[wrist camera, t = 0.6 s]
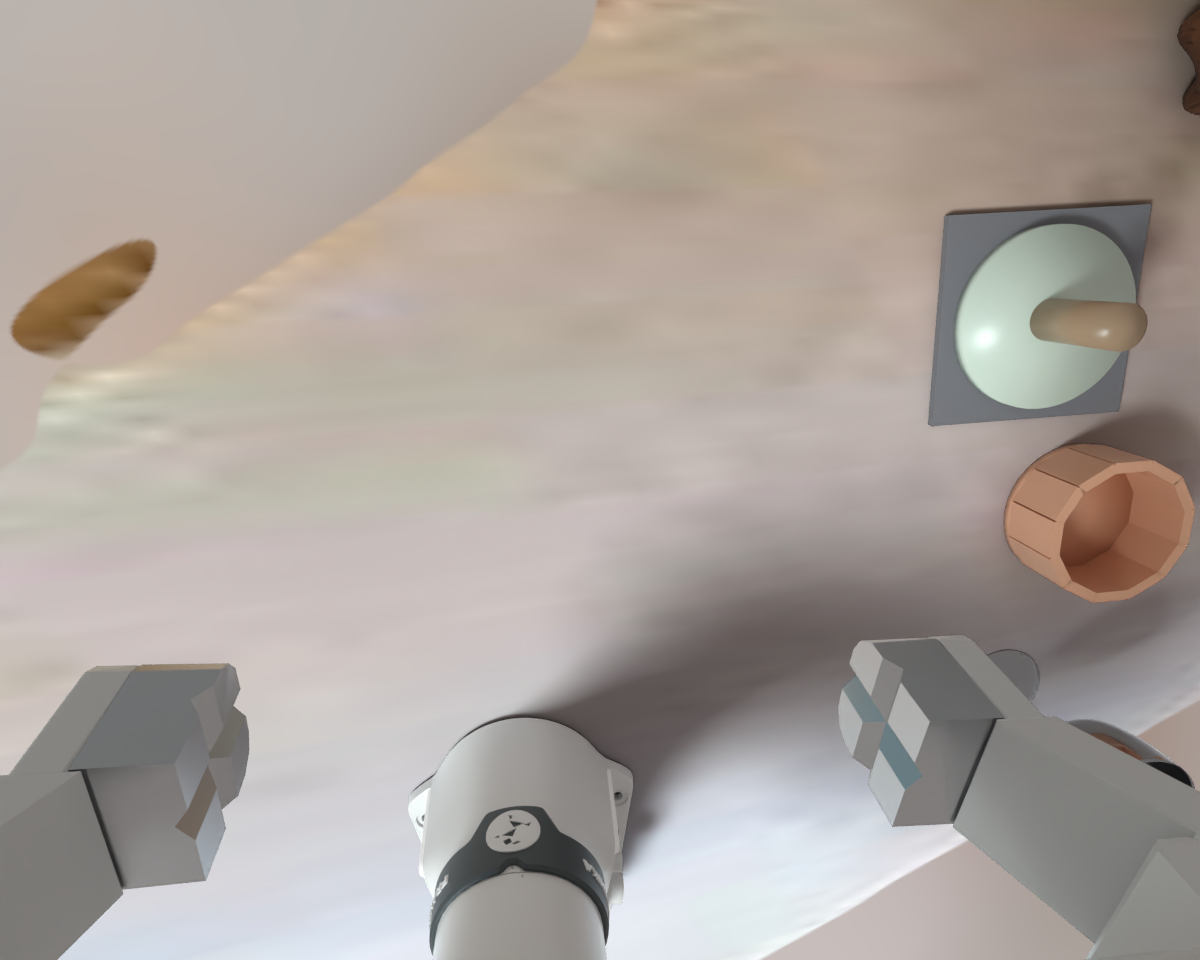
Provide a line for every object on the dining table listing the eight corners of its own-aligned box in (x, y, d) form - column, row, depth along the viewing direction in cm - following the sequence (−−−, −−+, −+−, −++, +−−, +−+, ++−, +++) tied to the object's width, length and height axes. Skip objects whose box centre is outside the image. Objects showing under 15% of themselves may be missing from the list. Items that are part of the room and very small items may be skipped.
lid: (1108, 399, 55) (1201, 421, 47) (946, 412, 54) (1014, 436, 47) (1135, 219, 51) (1241, 211, 44) (961, 229, 50) (1038, 223, 43)
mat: (1112, 409, 56) (1118, 411, 55) (928, 424, 55) (932, 426, 54) (1144, 204, 52) (1151, 204, 51) (944, 216, 51) (949, 215, 50)
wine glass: (1061, 676, 63) (1218, 797, 49) (997, 740, 64) (1131, 877, 50) (1003, 629, 61) (1149, 741, 47) (938, 696, 62) (1060, 825, 48)
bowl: (1121, 565, 60) (1178, 594, 55) (996, 577, 59) (1042, 608, 54) (1143, 438, 57) (1205, 455, 52) (1011, 448, 56) (1061, 468, 51)
